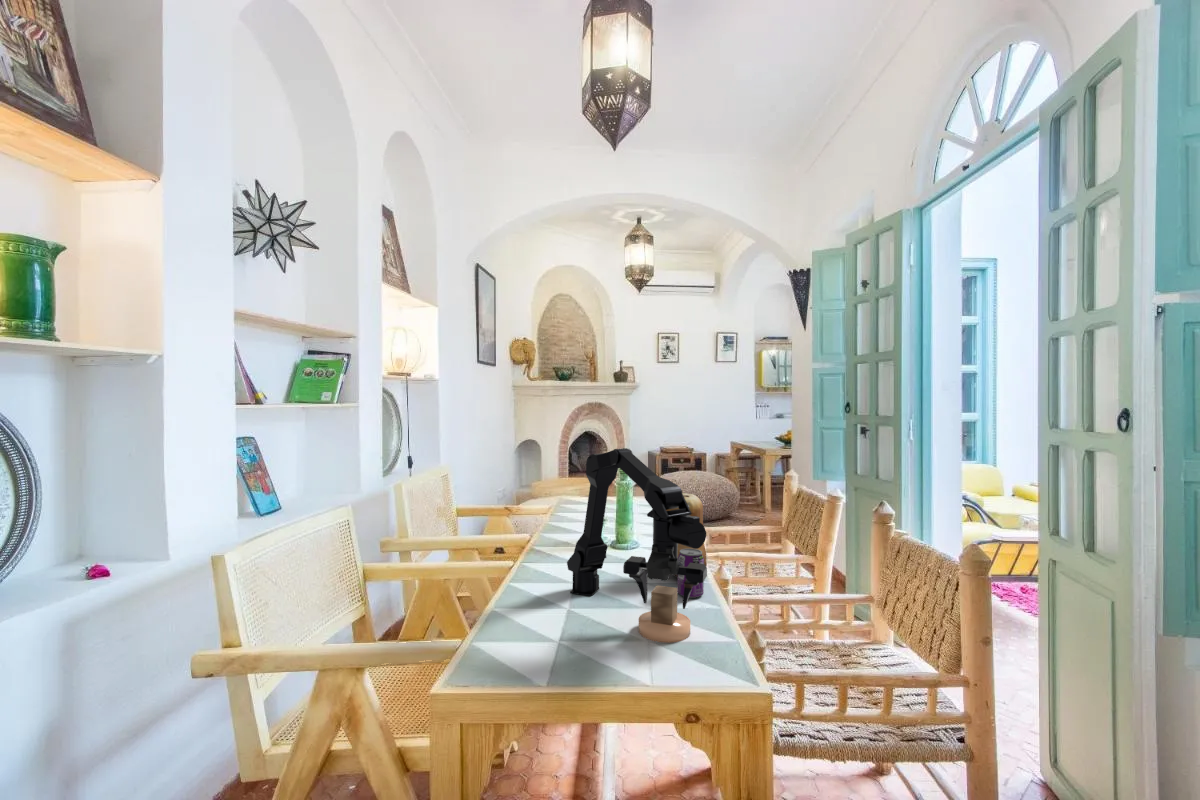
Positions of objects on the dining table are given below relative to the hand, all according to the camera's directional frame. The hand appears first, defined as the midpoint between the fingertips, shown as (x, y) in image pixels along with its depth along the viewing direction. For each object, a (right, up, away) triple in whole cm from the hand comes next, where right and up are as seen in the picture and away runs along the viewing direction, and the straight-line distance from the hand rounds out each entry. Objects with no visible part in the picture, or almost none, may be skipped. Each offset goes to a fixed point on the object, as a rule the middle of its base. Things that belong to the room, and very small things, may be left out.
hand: (664, 605), depth 134 cm
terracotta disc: (0, -6, 0) cm, 6 cm away
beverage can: (+10, -6, +24) cm, 27 cm away
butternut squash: (+10, -6, +39) cm, 41 cm away
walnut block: (0, -3, 0) cm, 3 cm away
